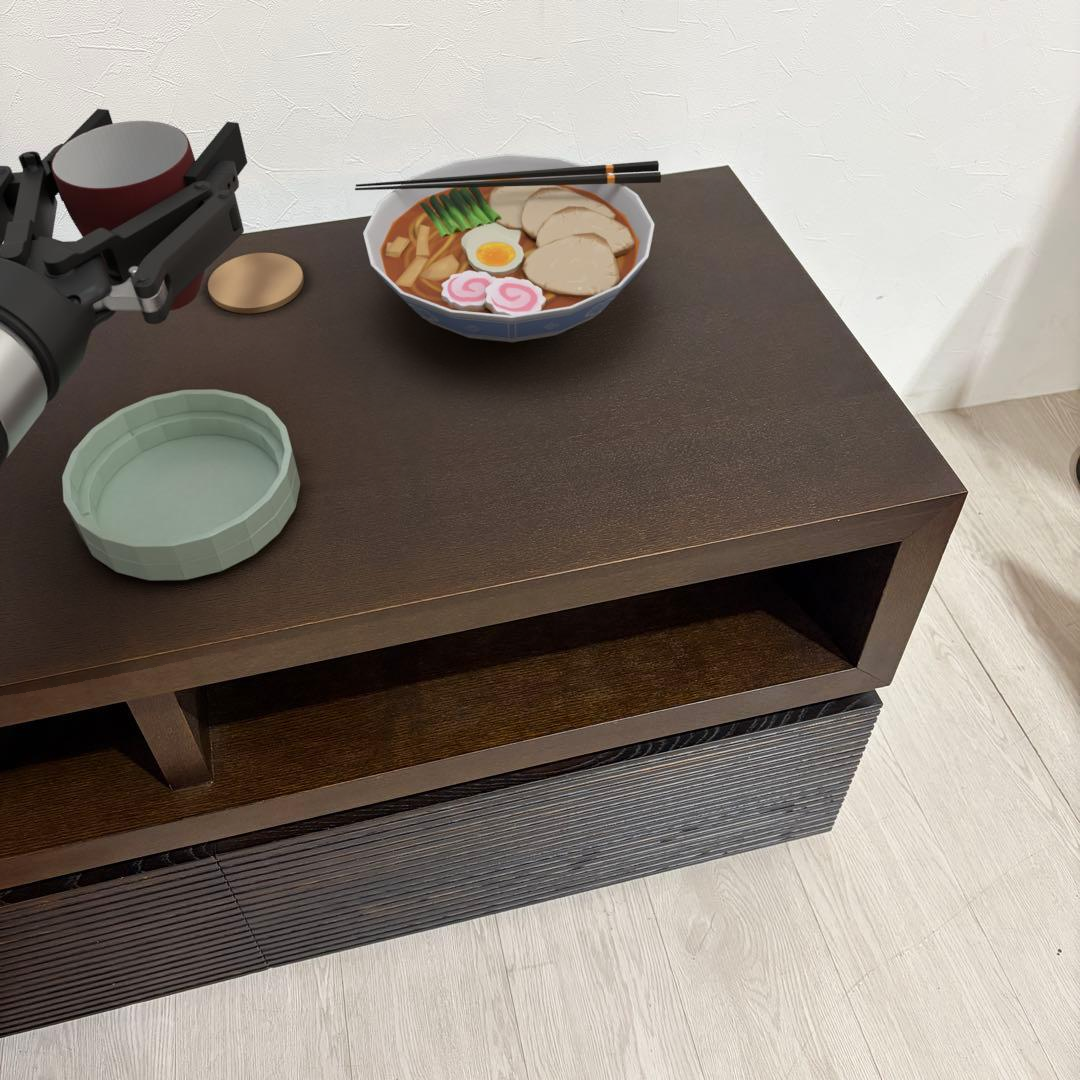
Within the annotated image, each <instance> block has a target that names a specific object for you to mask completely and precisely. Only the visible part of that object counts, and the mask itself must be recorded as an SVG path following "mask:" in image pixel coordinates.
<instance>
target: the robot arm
mask: <svg viewBox="0 0 1080 1080" xmlns="http://www.w3.org/2000/svg"><path fill="white" fill-rule="evenodd" d="M109 124H114V123H113V119H112V116H111V113H110V110H109V109H106V108H105V109H103V108H96V110H95V111H94V112H93V113H91V115H90V116H89V117H88V118H87V119H86V120H85V121H84V122H83V123H82V124H81V125H80V126H79V127H78V128H77V129H76V130H75V131H74V132H73V133H72V134H71V135H70V136H69V137H68V138H67V139H66V141H64V142H63V143H60V144H57V145H56V146H55V147H53V149H51V150H50V152H48V153H47V154H46V156H45V157H43V158H41V154H40V153H39V152H37V151H35V150H34V151H33V150H31V151H25V152H23V153H21V154H20V155H19V156H18V157H17V158H18V161H19V163H20V166H21V168H22V171H19V172H13V170H12V168H11V167H10V166H8V165H0V467H2V465H3V464H4V462H5V461H6V460H7V459H8V457H10V455H11V454H12V452H13V451H14V449H15V448H16V447H17V446H18V445H19V443H20V442H21V440H22V439H23V438H24V437H25V435H26V434H27V433H28V431H29V430H30V429H31V428H32V427H33V425H34V424H35V422H36V421H37V420H38V418H39V417H40V415H41V414H42V413H43V412H44V410H45V408H46V405H47V404H48V403H50V402H51V401H52V400H53V399H54V398H55V397H56V395H57V394H58V393H59V392H60V390H61V389H62V388H63V386H64V385H65V384H66V383H67V381H68V380H69V378H70V377H71V376H72V375H73V373H74V372H75V371H76V369H77V368H78V367H79V365H80V364H81V363H82V361H83V359H84V357H85V353H86V350H87V347H88V343H89V340H90V336H91V334H92V332H93V330H94V329H95V328H96V327H97V326H99V325H101V324H102V323H104V322H106V321H108V320H109V319H111V318H112V317H113V316H114V315H115V313H116V312H117V311H118V312H121V311H122V312H130V311H131V312H141V314H142V317H143V319H144V321H145V323H146V324H149V325H158V324H160V323H163V322H164V321H166V319H167V318H168V316H169V314H170V312H171V311H170V309H171V307H172V304H173V302H174V300H175V298H176V297H177V296H178V295H179V294H180V293H182V292H183V291H184V290H185V289H186V288H187V287H188V286H189V285H190V284H191V283H192V282H193V281H194V280H195V279H196V278H197V277H198V276H199V275H200V274H201V273H202V272H203V271H204V270H205V271H206V270H207V269H208V268H209V267H210V266H211V265H212V264H213V263H214V262H215V261H216V260H217V259H218V258H219V257H220V256H221V255H223V253H224V252H225V251H226V250H228V249H229V248H230V246H232V244H234V243H235V241H237V240H238V239H239V238H240V237H241V236H242V235H243V234H244V232H245V229H244V225H243V221H242V217H241V213H240V209H239V203H238V199H237V196H236V192H237V190H238V189H239V188H240V180H239V177H238V176H239V175H240V174H241V172H242V171H243V169H245V167H246V165H247V164H248V159H247V155H246V150H245V145H244V141H243V137H242V132H241V128H240V123H239V122H234V121H226V123H225V124H224V125H223V126H222V127H221V129H220V130H219V131H218V132H217V133H216V135H214V137H213V138H212V140H211V141H210V142H209V144H207V146H206V147H205V148H204V149H203V151H202V152H201V153H200V155H199V156H198V157H197V158H196V159H195V162H194V163H193V165H192V166H191V167H190V168H189V170H188V171H187V172H186V173H185V175H184V179H185V183H186V186H187V187H186V188H184V189H182V190H180V191H179V192H177V193H175V194H173V195H172V196H170V197H168V198H167V199H165V200H163V201H161V202H160V203H158V204H156V205H154V206H153V207H151V208H149V209H148V210H146V211H144V212H142V213H141V214H139V215H137V216H135V217H134V218H132V219H130V220H129V221H127V222H125V223H123V224H122V225H120V226H118V227H116V228H115V229H113V230H111V231H109V230H107V229H105V228H98V229H96V230H95V231H93V232H91V233H89V234H88V235H86V236H84V237H82V236H81V237H80V238H79V239H77V240H71V241H68V240H67V241H64V240H63V241H62V240H59V239H57V238H53V237H54V236H53V235H54V230H55V229H54V228H55V222H56V217H57V216H56V215H57V209H58V200H57V197H56V196H57V195H58V196H59V198H60V200H61V202H63V200H62V197H61V194H60V192H59V189H58V187H57V184H56V181H55V178H54V175H53V173H52V168H51V163H52V160H53V157H54V156H55V154H56V153H57V151H58V150H59V149H60V148H61V147H62V146H63V145H64V144H66V143H67V142H68V141H70V140H71V139H73V138H75V137H77V136H78V135H80V134H83V133H85V132H87V131H90V130H92V129H95V128H98V127H102V126H105V125H109ZM100 252H102V254H103V257H104V260H105V263H106V265H107V268H108V271H109V274H108V271H107V268H106V265H105V263H104V260H103V257H102V256H101V254H100Z"/></svg>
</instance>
